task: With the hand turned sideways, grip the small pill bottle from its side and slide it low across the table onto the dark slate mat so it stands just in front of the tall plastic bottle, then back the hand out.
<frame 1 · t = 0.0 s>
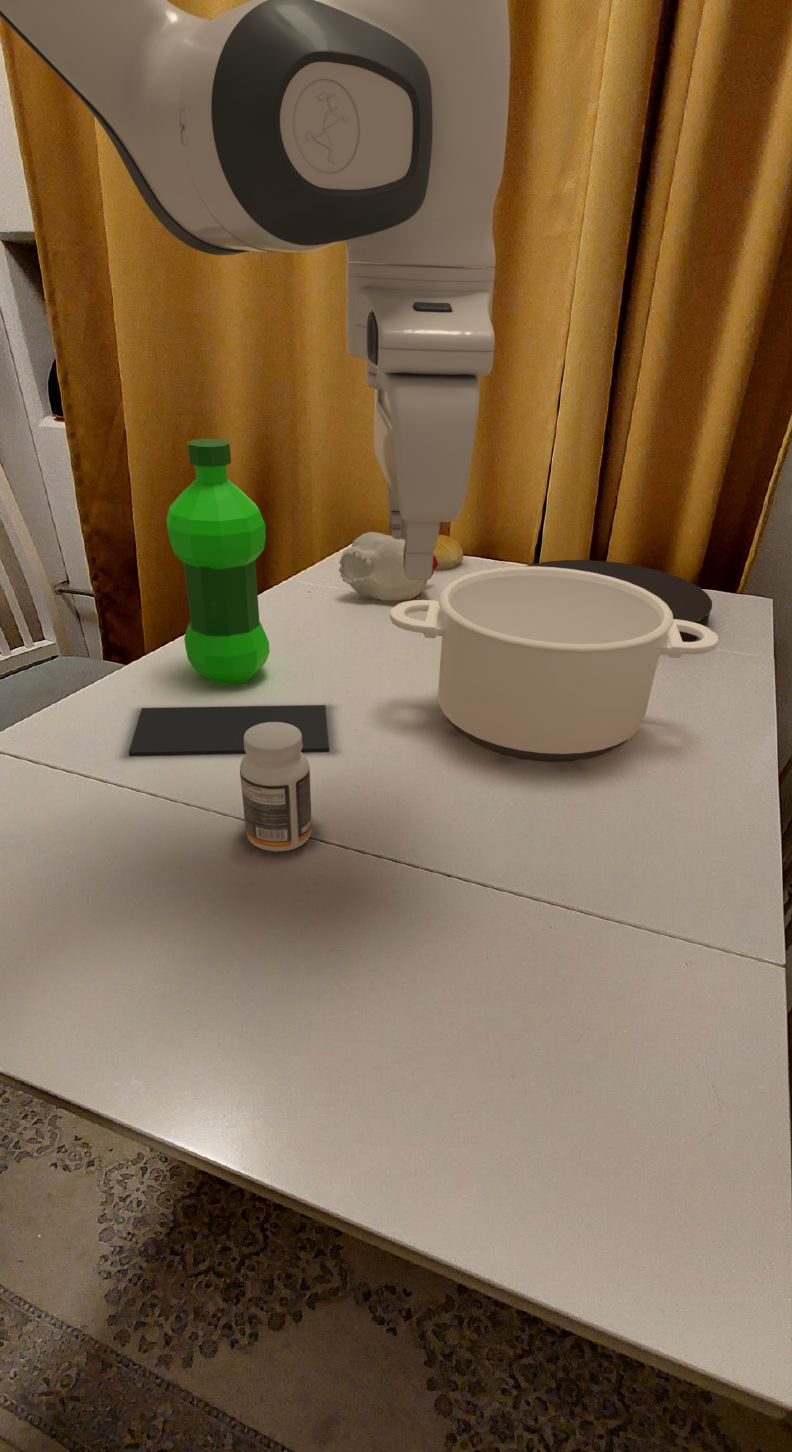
hand: (408, 555, 60), 24 cm above the table, tool pointing down, fingers open, 8 cm apart
bread roll: (434, 563, 137), on the table
slate mat: (232, 730, 89), on the table
pot: (536, 726, 92), on the table
plastic bottle: (230, 677, 100), on the table
disc: (599, 613, 122), on the table
white lumpy rounded piece: (396, 597, 124), on the table
pill bottle: (279, 837, 73), on the table
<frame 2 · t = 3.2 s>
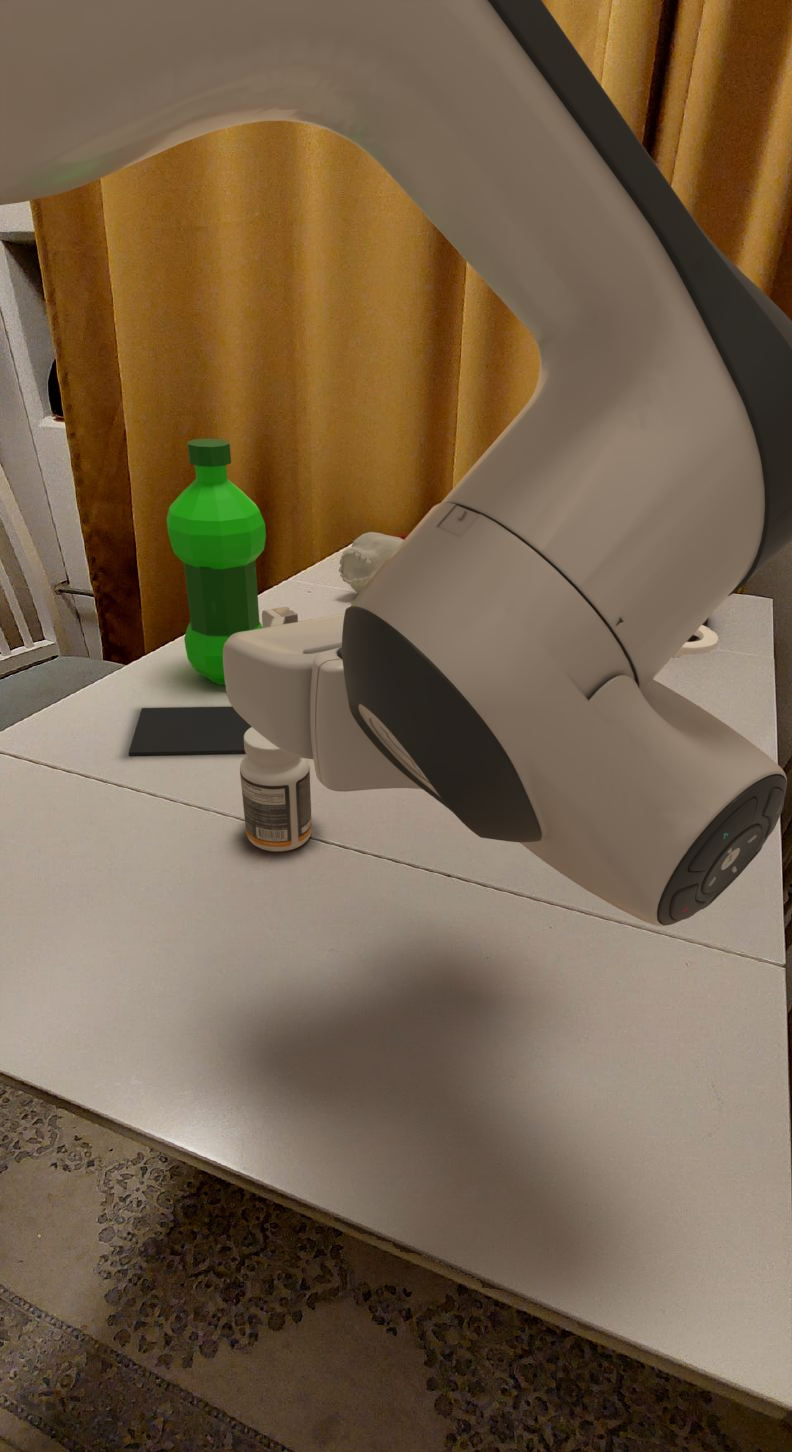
hand: (344, 608, 51), 24 cm above the table, tool horizontal, fingers open, 8 cm apart
nothing on the table moved.
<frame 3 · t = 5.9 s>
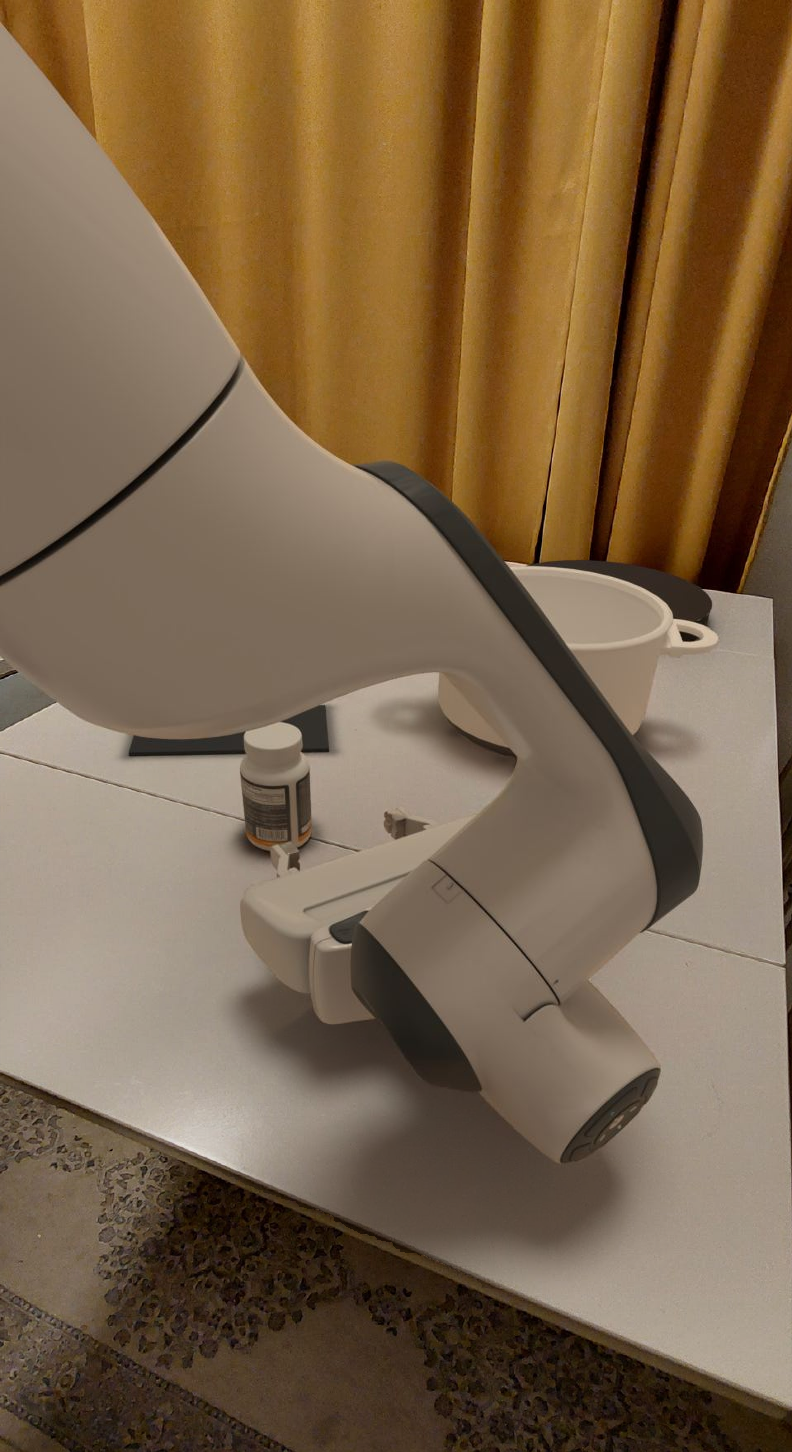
hand: (337, 833, 62), 7 cm above the table, tool horizontal, fingers open, 8 cm apart
nothing on the table moved.
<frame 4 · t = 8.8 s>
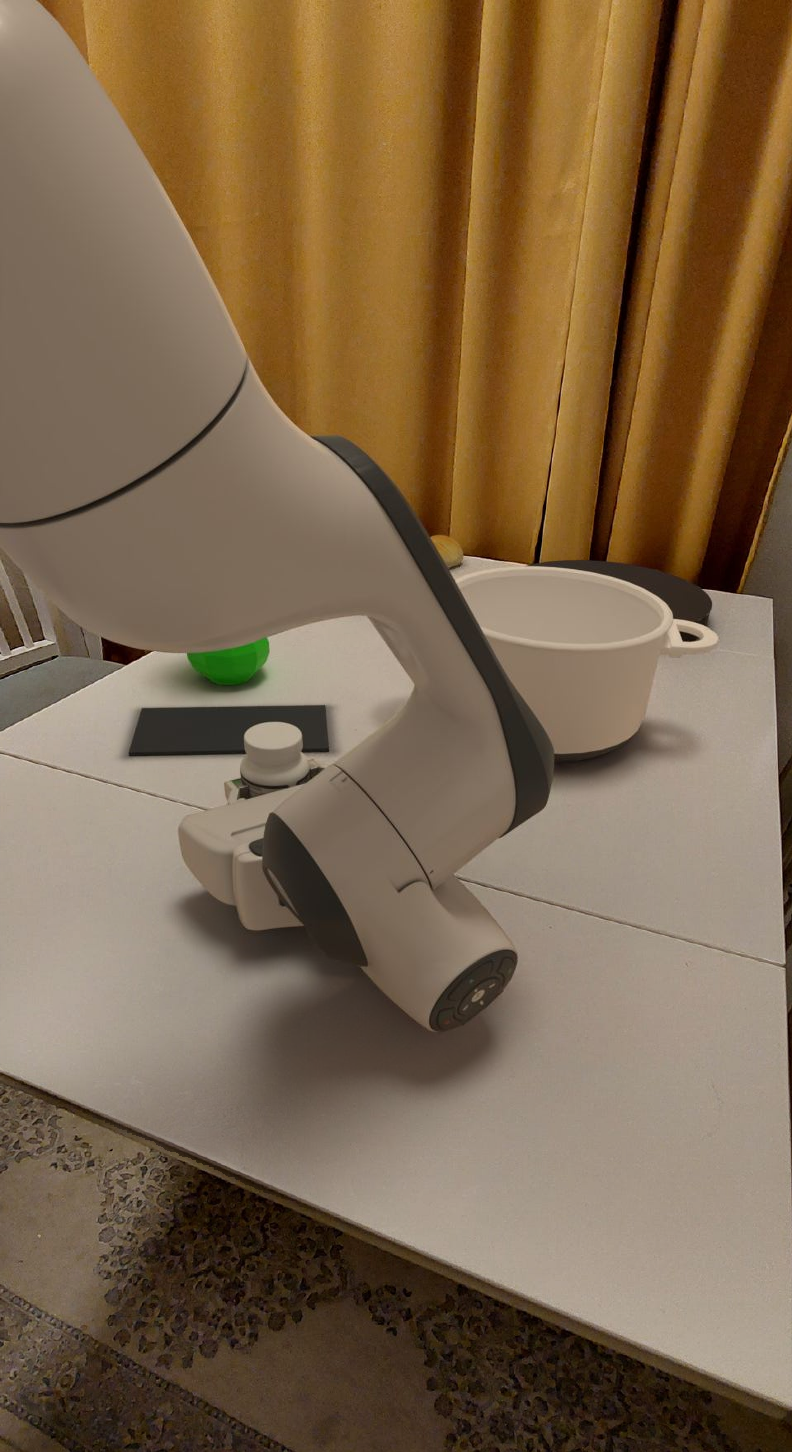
hand: (271, 776, 71), 6 cm above the table, tool horizontal, fingers closed on pill bottle, 6 cm apart
pill bottle: (279, 837, 73), on the table, touching gripper
everything else where it was.
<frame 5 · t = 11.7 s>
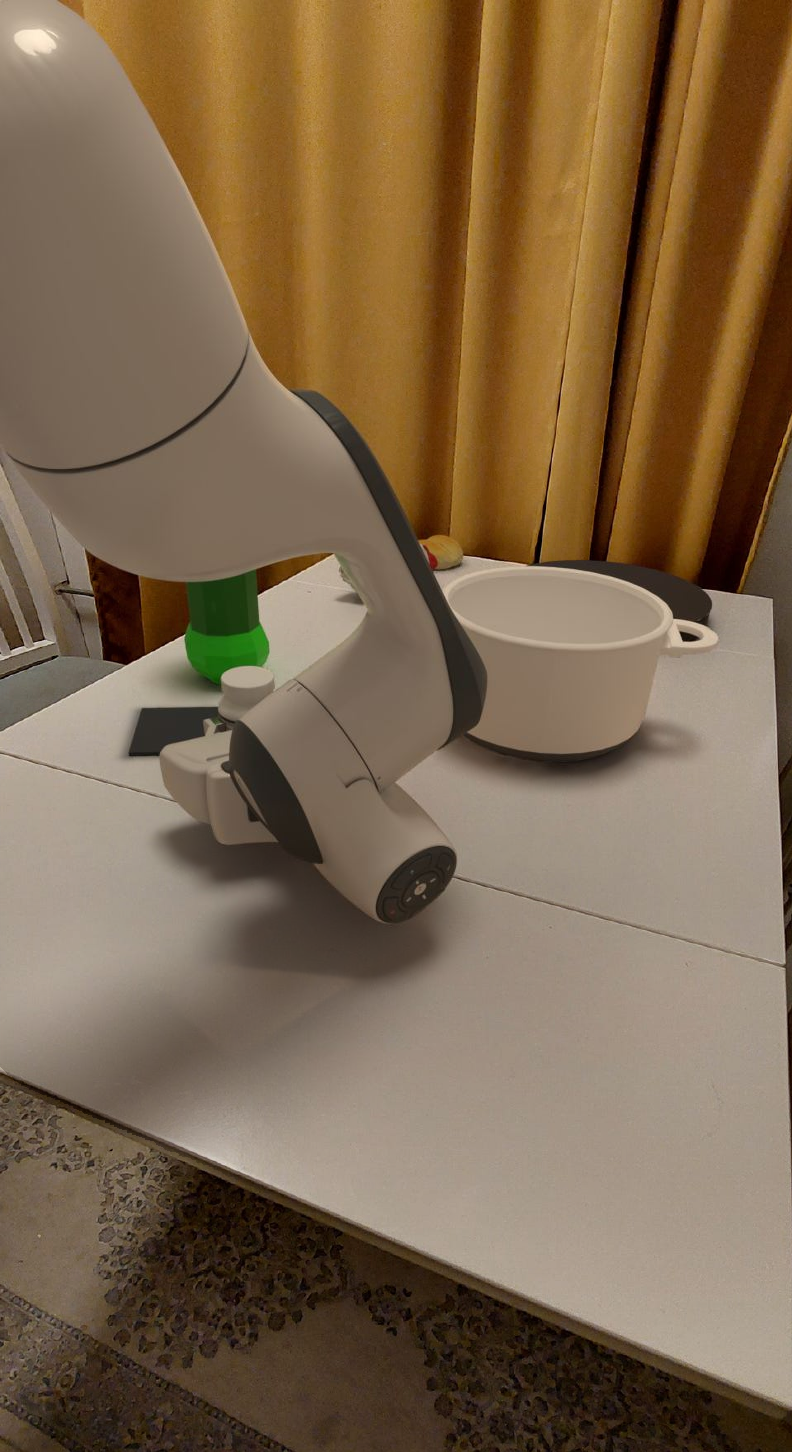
hand: (246, 717, 77), 6 cm above the table, tool horizontal, fingers closed on pill bottle, 6 cm apart
pill bottle: (255, 775, 80), point 1 cm above the table, touching gripper
everything else where it was.
when the fingers open (6 cm above the table, at t = 14.6 s): pill bottle stays where it is, resting on slate mat.
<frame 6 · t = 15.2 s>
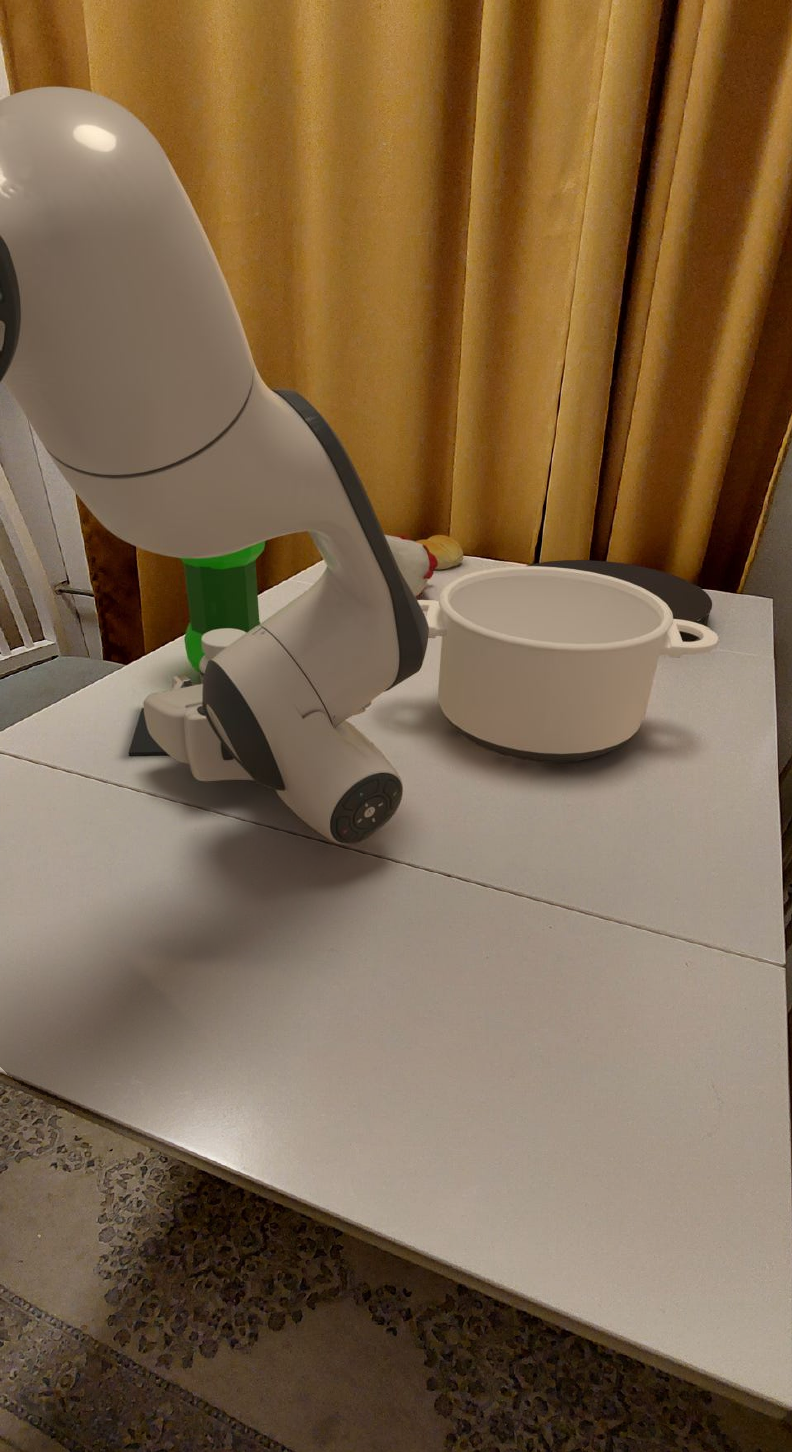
hand: (223, 673, 86), 6 cm above the table, tool horizontal, fingers open, 8 cm apart
pill bottle: (234, 729, 88), resting on slate mat
everything else where it was.
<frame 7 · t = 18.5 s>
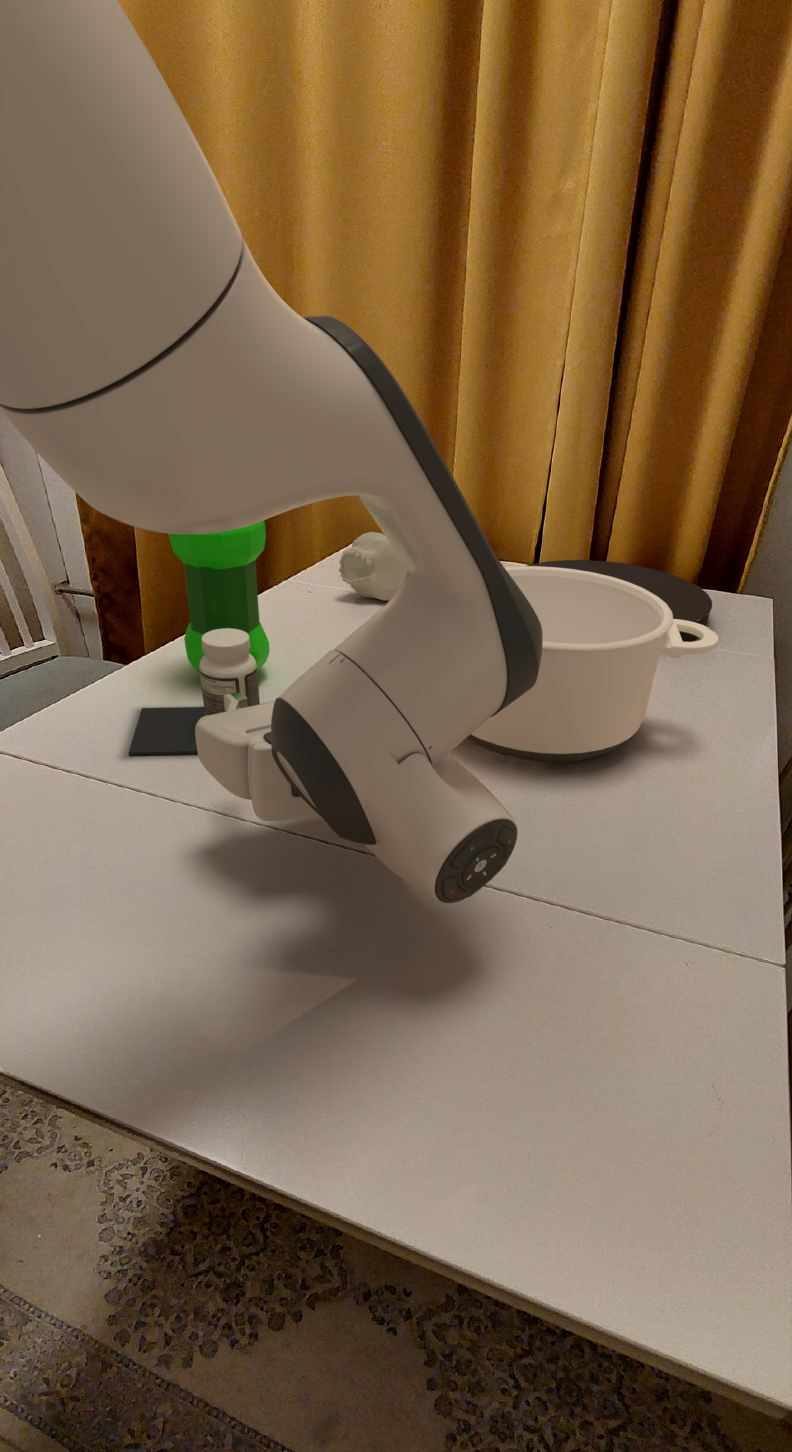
hand: (281, 690, 74), 10 cm above the table, tool horizontal, fingers open, 8 cm apart
nothing on the table moved.
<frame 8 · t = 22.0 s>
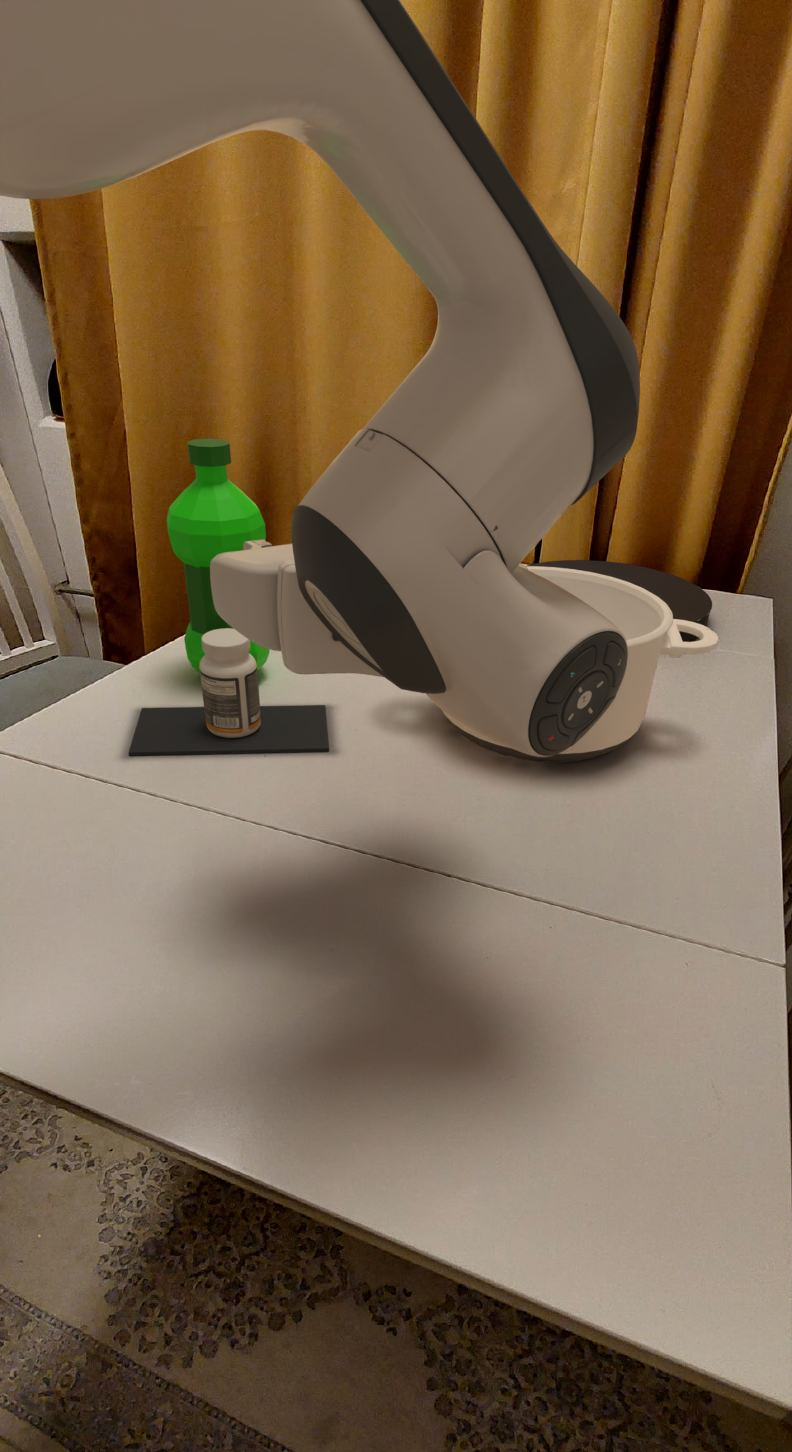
hand: (312, 543, 61), 24 cm above the table, tool horizontal, fingers open, 8 cm apart
nothing on the table moved.
at the end: pill bottle inside the target area on the table beside the plastic bottle (1.6 cm from its centre), resting on slate mat; pill bottle tilted 0°; the gripper is holding nothing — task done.
